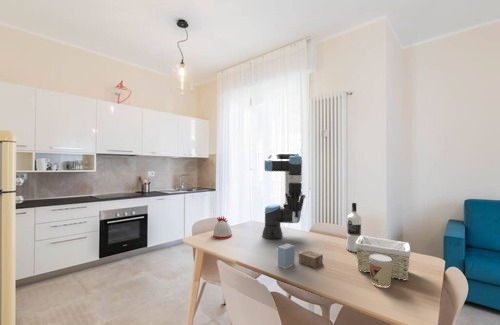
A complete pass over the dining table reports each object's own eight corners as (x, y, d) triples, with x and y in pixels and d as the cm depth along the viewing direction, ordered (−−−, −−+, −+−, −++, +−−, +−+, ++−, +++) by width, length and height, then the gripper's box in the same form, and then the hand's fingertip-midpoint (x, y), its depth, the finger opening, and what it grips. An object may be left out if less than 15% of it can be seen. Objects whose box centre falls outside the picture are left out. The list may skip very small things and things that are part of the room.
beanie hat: (216, 233, 186) (216, 213, 186) (233, 233, 184) (233, 214, 184) (210, 238, 172) (211, 217, 172) (229, 239, 170) (229, 218, 171)
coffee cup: (364, 279, 113) (365, 253, 113) (383, 278, 113) (383, 253, 113) (377, 289, 103) (377, 261, 103) (397, 288, 104) (397, 261, 104)
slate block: (287, 261, 133) (287, 243, 133) (294, 264, 129) (294, 245, 129) (277, 265, 127) (278, 246, 127) (285, 268, 124) (285, 249, 124)
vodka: (365, 251, 148) (365, 203, 148) (353, 253, 145) (353, 204, 145) (354, 247, 157) (354, 201, 157) (342, 248, 153) (343, 202, 154)
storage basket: (354, 271, 121) (354, 242, 122) (359, 260, 135) (359, 234, 135) (410, 284, 108) (410, 251, 109) (410, 271, 122) (410, 242, 122)
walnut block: (306, 249, 137) (322, 254, 130) (306, 258, 137) (322, 263, 130) (298, 253, 132) (314, 258, 125) (298, 262, 132) (314, 268, 125)
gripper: (282, 181, 141) (282, 221, 141) (300, 183, 132) (300, 226, 132) (289, 181, 146) (289, 219, 146) (308, 182, 137) (308, 223, 137)
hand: (294, 222), depth 139 cm, fingers closed
